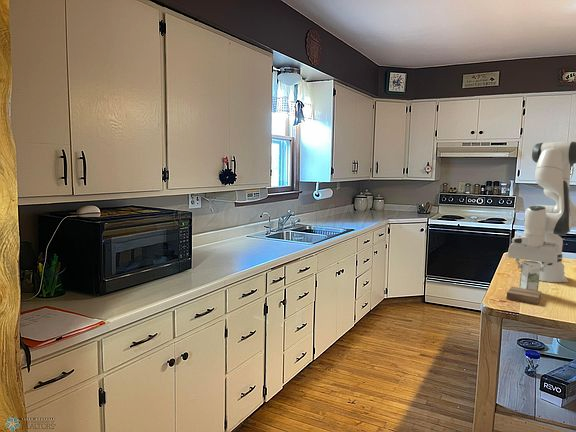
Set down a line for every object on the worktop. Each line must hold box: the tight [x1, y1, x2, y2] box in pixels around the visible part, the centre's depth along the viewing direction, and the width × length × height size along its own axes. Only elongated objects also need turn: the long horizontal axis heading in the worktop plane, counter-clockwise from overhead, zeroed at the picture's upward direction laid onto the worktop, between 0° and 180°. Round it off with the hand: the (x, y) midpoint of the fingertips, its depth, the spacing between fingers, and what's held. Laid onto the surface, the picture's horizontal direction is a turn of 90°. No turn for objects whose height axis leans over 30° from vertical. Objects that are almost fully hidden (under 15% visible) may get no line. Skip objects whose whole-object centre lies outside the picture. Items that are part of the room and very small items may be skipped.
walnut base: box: [506, 286, 542, 306], centre depth 191 cm, size 12×12×3 cm
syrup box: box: [518, 260, 541, 291], centre depth 202 cm, size 6×6×14 cm
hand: (530, 269), depth 201 cm, fingers closed on syrup box, 8 cm apart
